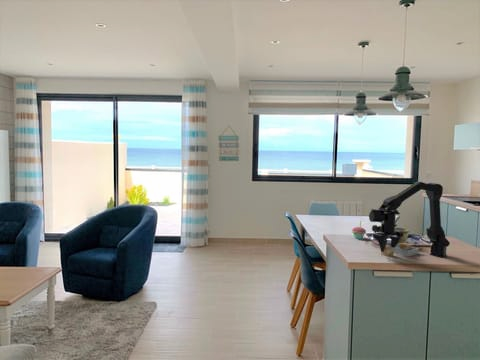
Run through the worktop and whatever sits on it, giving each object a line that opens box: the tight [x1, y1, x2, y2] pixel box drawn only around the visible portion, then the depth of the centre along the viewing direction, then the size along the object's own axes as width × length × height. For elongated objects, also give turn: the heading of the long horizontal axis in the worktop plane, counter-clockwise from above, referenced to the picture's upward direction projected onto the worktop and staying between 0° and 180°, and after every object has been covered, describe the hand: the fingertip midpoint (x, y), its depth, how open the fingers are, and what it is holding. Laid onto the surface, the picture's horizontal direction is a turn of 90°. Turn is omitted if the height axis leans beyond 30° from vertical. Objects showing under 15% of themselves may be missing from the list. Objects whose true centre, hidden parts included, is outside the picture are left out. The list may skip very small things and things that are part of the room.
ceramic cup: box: [395, 226, 410, 243], centre depth 202 cm, size 13×10×10 cm
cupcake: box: [351, 220, 367, 240], centre depth 216 cm, size 9×8×12 cm
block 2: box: [399, 242, 413, 251], centre depth 185 cm, size 4×4×4 cm
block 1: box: [380, 246, 395, 258], centre depth 180 cm, size 4×4×4 cm
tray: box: [386, 241, 420, 257], centre depth 188 cm, size 16×11×3 cm
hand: (387, 250), depth 180 cm, fingers open, 9 cm apart
